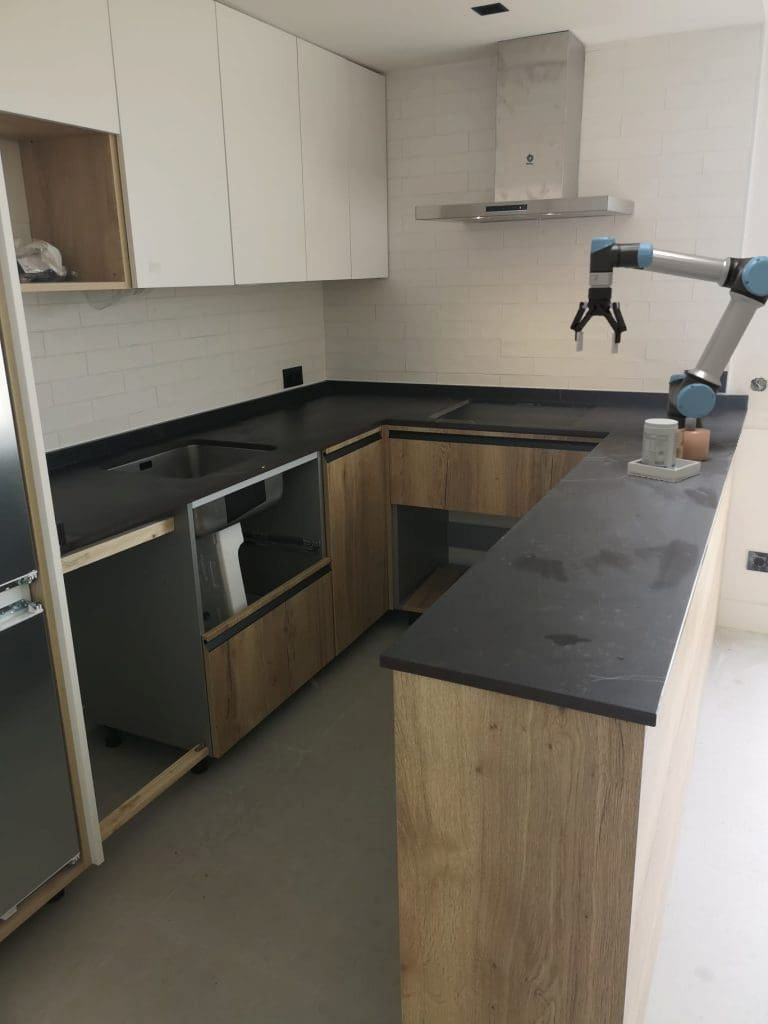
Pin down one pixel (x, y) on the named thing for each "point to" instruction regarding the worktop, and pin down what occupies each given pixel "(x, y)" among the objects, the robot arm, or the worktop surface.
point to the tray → (665, 470)
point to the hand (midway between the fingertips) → (596, 352)
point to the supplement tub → (660, 443)
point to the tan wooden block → (680, 443)
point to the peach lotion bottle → (695, 441)
